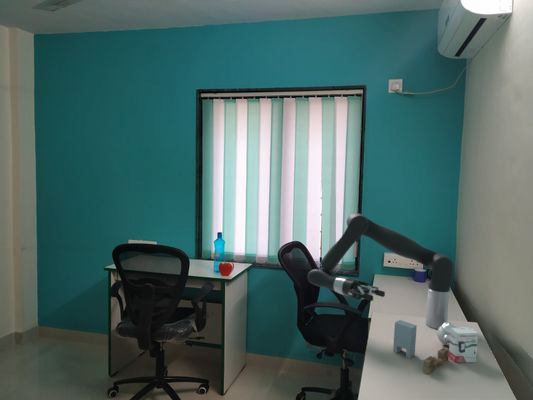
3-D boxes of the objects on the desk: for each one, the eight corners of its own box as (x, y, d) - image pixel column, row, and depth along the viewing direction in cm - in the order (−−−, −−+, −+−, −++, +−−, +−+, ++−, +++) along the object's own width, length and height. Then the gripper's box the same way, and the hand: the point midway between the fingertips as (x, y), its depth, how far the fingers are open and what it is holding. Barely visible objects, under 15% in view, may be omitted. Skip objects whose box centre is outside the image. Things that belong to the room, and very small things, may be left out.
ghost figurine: (432, 345, 170) (433, 321, 169) (442, 338, 176) (443, 316, 175) (454, 352, 163) (455, 328, 162) (463, 346, 170) (465, 322, 169)
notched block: (398, 348, 165) (400, 320, 164) (414, 355, 160) (416, 325, 159) (393, 351, 163) (394, 322, 162) (409, 358, 158) (411, 328, 156)
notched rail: (443, 358, 158) (444, 347, 158) (448, 360, 157) (449, 349, 156) (422, 372, 147) (423, 360, 147) (428, 374, 146) (429, 362, 145)
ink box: (455, 363, 155) (457, 333, 154) (448, 357, 160) (450, 327, 158) (476, 362, 156) (478, 332, 155) (468, 356, 161) (470, 327, 160)
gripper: (336, 281, 176) (369, 290, 164) (356, 275, 185) (388, 284, 173) (335, 298, 176) (368, 309, 164) (355, 291, 186) (387, 301, 174)
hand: (378, 296), depth 169 cm, fingers open, 8 cm apart
